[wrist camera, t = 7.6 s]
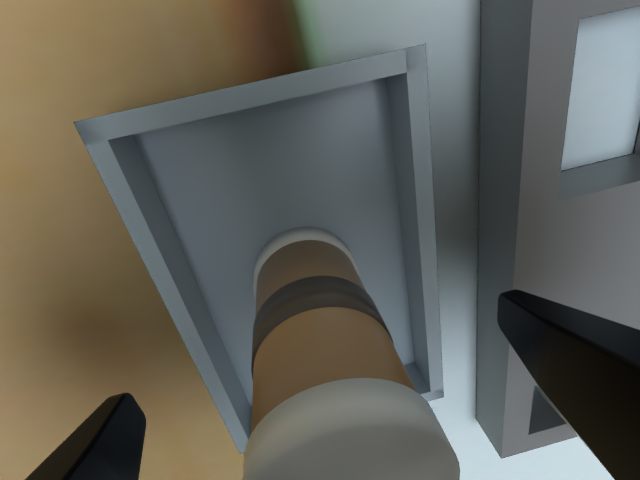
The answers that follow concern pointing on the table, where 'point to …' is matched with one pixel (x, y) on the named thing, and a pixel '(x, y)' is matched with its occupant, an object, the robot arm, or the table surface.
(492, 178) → the fuse block
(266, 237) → the parts tray
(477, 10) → the table surface
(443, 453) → the fuse
